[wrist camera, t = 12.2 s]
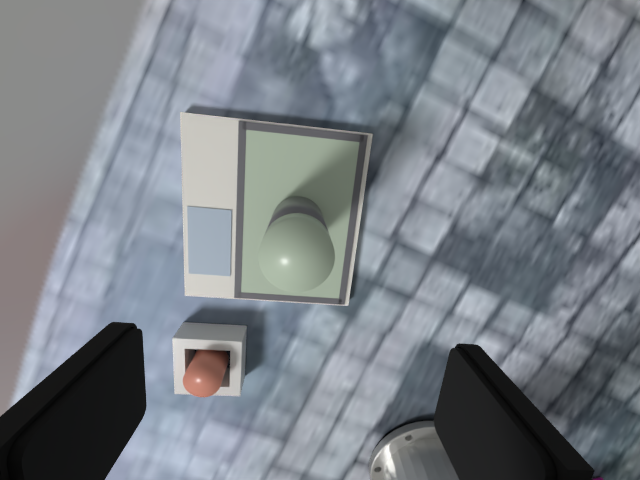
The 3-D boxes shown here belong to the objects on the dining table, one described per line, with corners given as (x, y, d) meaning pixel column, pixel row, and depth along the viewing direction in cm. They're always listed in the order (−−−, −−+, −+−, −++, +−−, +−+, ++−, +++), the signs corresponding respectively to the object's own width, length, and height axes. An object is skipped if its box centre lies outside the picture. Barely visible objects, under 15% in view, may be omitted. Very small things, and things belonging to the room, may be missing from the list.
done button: (228, 345, 29) (221, 367, 26) (228, 373, 30) (220, 397, 27) (194, 343, 28) (182, 365, 26) (194, 372, 29) (183, 396, 26)
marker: (325, 198, 26) (338, 223, 17) (320, 248, 27) (330, 294, 18) (273, 194, 25) (259, 217, 17) (270, 244, 27) (256, 290, 18)
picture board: (370, 134, 25) (373, 133, 24) (346, 301, 30) (348, 306, 29) (184, 113, 24) (179, 111, 23) (188, 291, 28) (184, 296, 27)
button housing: (246, 325, 30) (241, 341, 27) (244, 376, 31) (240, 396, 29) (183, 322, 29) (172, 338, 27) (184, 374, 31) (174, 393, 28)
